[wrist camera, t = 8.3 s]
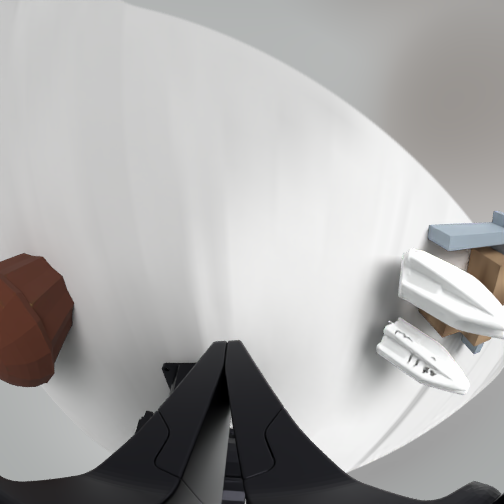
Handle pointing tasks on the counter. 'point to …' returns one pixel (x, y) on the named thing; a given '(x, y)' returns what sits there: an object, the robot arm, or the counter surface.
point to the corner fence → (470, 242)
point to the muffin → (31, 319)
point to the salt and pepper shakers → (446, 310)
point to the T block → (490, 275)
